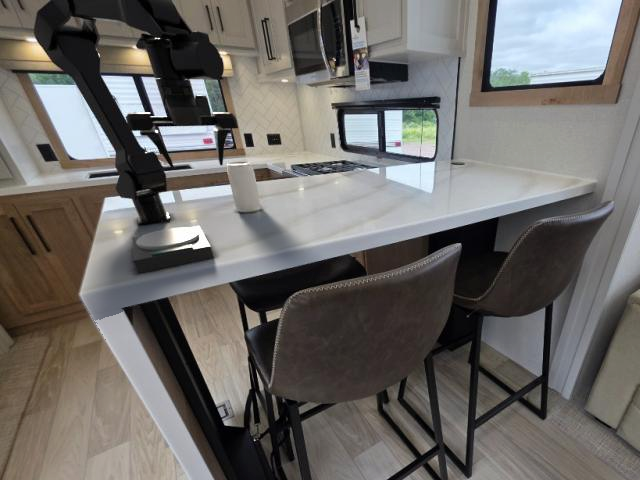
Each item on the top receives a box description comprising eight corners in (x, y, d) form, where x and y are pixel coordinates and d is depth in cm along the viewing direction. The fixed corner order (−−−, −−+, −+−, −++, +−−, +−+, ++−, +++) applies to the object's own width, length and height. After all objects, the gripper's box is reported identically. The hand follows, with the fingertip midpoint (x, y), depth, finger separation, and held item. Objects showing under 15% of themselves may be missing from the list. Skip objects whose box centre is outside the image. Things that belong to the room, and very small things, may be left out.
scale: (136, 248, 67) (130, 233, 65) (202, 236, 73) (198, 222, 71) (138, 273, 57) (131, 256, 56) (214, 257, 63) (209, 242, 62)
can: (266, 208, 92) (257, 162, 86) (247, 214, 87) (236, 166, 81) (251, 205, 95) (241, 160, 89) (231, 210, 90) (219, 164, 84)
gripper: (108, 75, 52) (145, 177, 61) (233, 80, 61) (252, 169, 69) (112, 78, 60) (145, 168, 68) (223, 82, 69) (241, 161, 77)
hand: (197, 166), depth 71 cm, fingers open, 9 cm apart
